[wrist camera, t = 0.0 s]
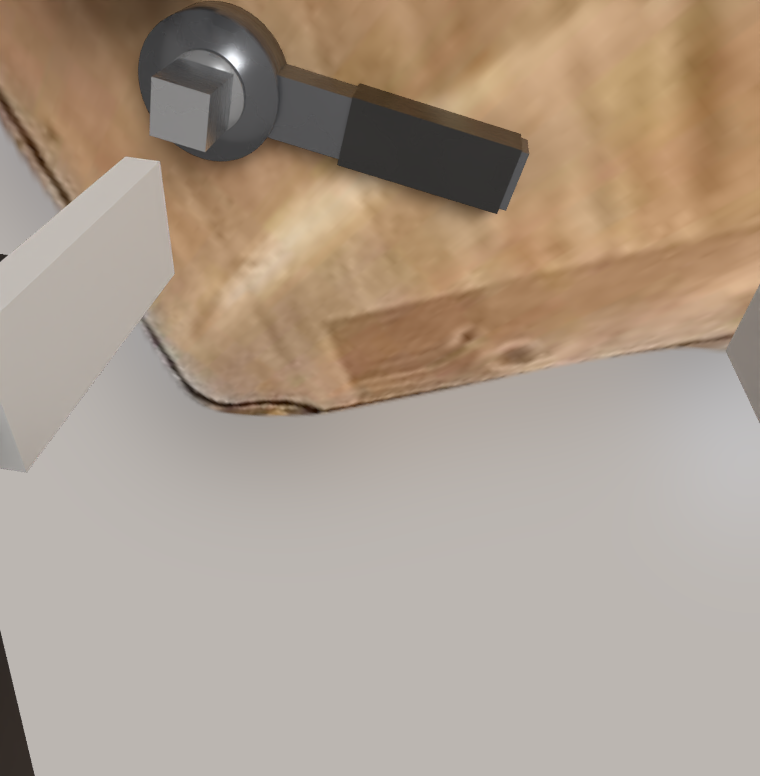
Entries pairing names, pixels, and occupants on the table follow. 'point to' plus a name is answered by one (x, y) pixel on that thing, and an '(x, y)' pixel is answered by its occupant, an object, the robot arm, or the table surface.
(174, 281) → the table surface
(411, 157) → the ratchet
